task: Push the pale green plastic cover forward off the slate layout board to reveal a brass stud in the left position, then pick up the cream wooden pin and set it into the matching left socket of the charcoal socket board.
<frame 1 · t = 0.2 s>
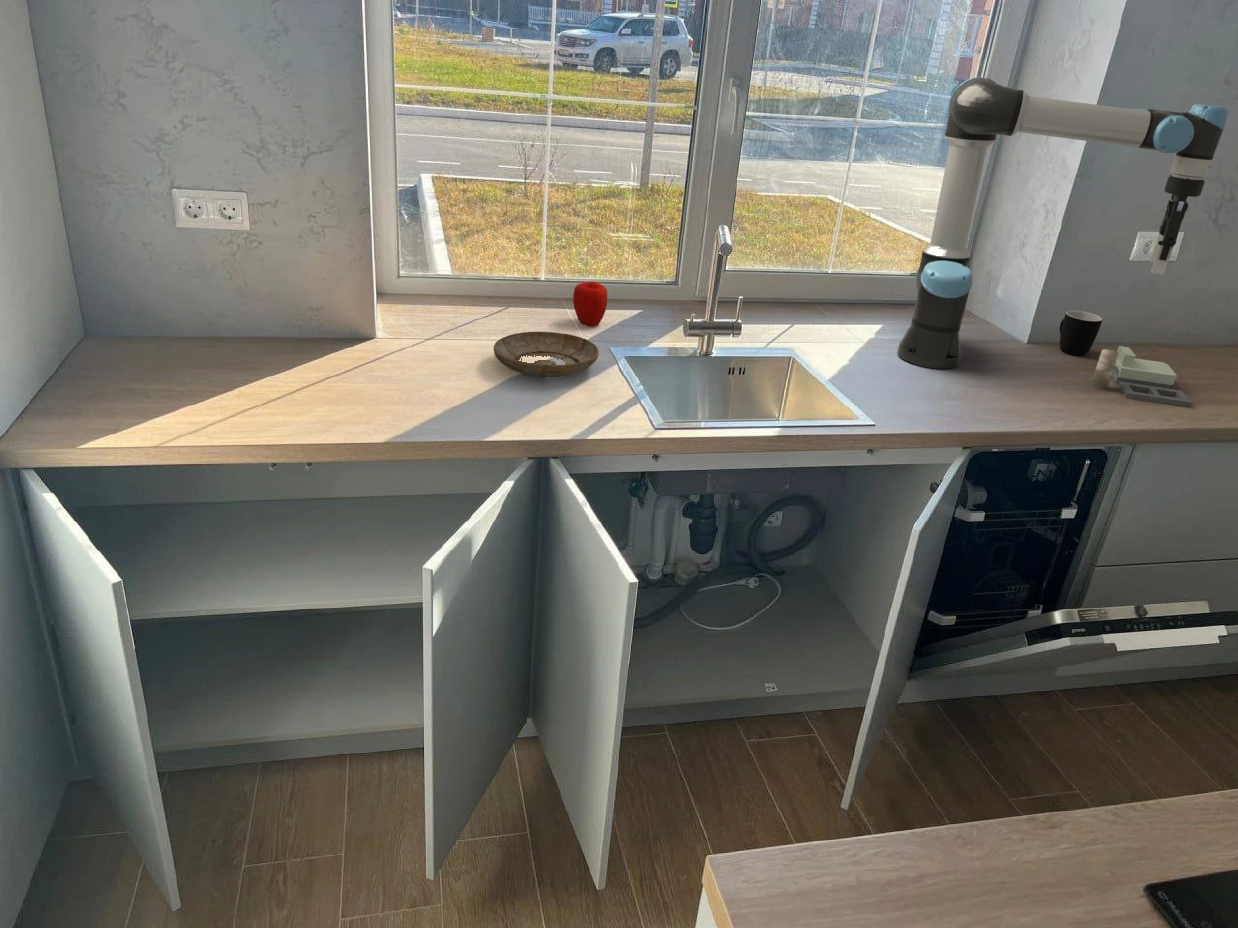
hand: (1156, 268, 220), 27 cm above the worktop, fingers open, 13 cm apart
socket board: (1153, 396, 218), on the worktop
layout board: (1137, 380, 228), on the worktop
mug: (1069, 351, 246), on the worktop
brown round shallow bowl: (545, 368, 205), on the worktop
pin: (1098, 387, 221), on the worktop
cover: (1144, 364, 226), point 4 cm above the worktop, slide at 0.0 cm
apple: (588, 325, 235), on the worktop
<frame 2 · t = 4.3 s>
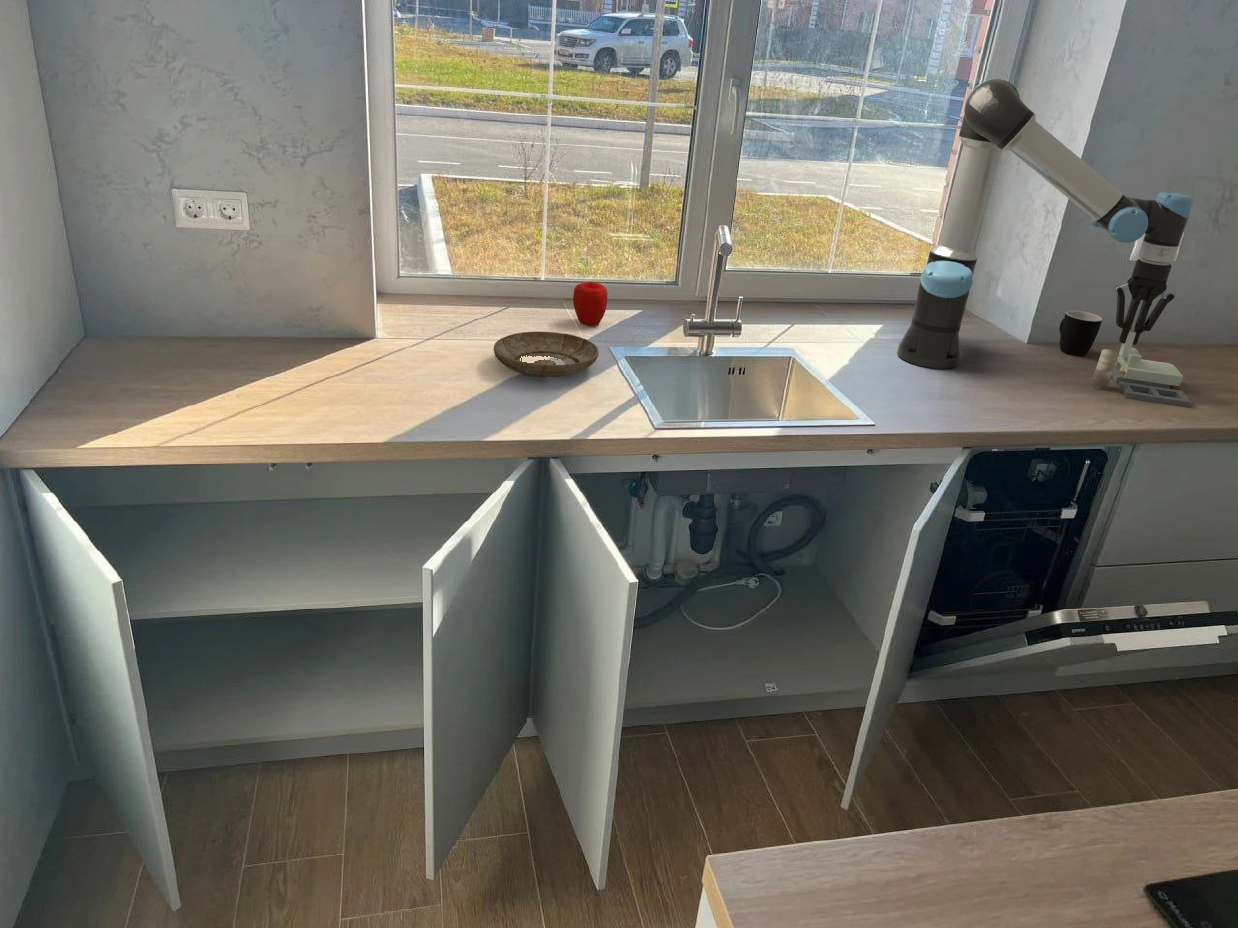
hand: (1123, 355, 226), 6 cm above the worktop, fingers closed
cover: (1150, 365, 225), point 4 cm above the worktop, slide at 1.4 cm, touching gripper
everything else where it was.
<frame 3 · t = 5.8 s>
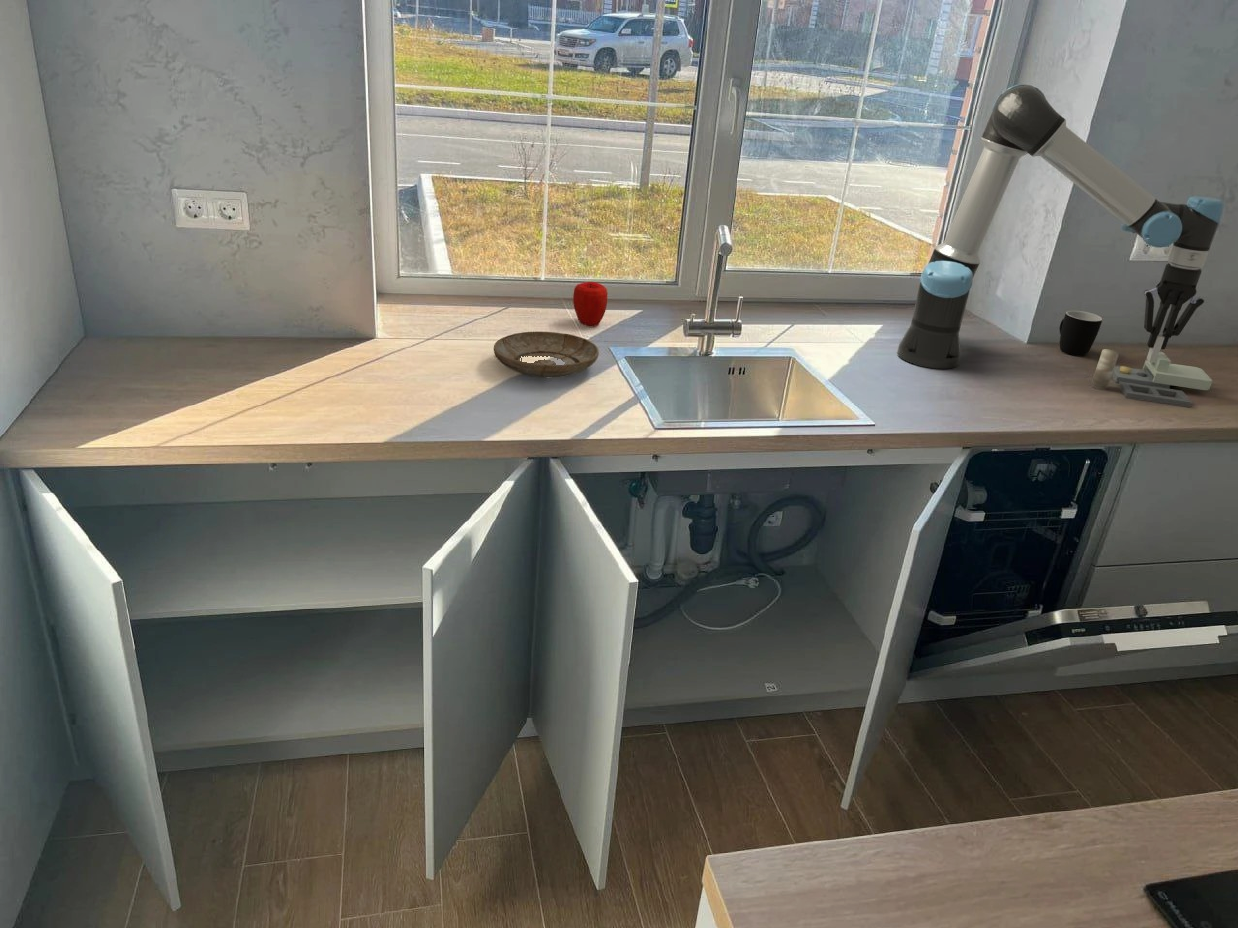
hand: (1151, 360, 225), 5 cm above the worktop, fingers closed
cover: (1179, 369, 224), point 4 cm above the worktop, slide at 7.9 cm, touching gripper
everything else where it was.
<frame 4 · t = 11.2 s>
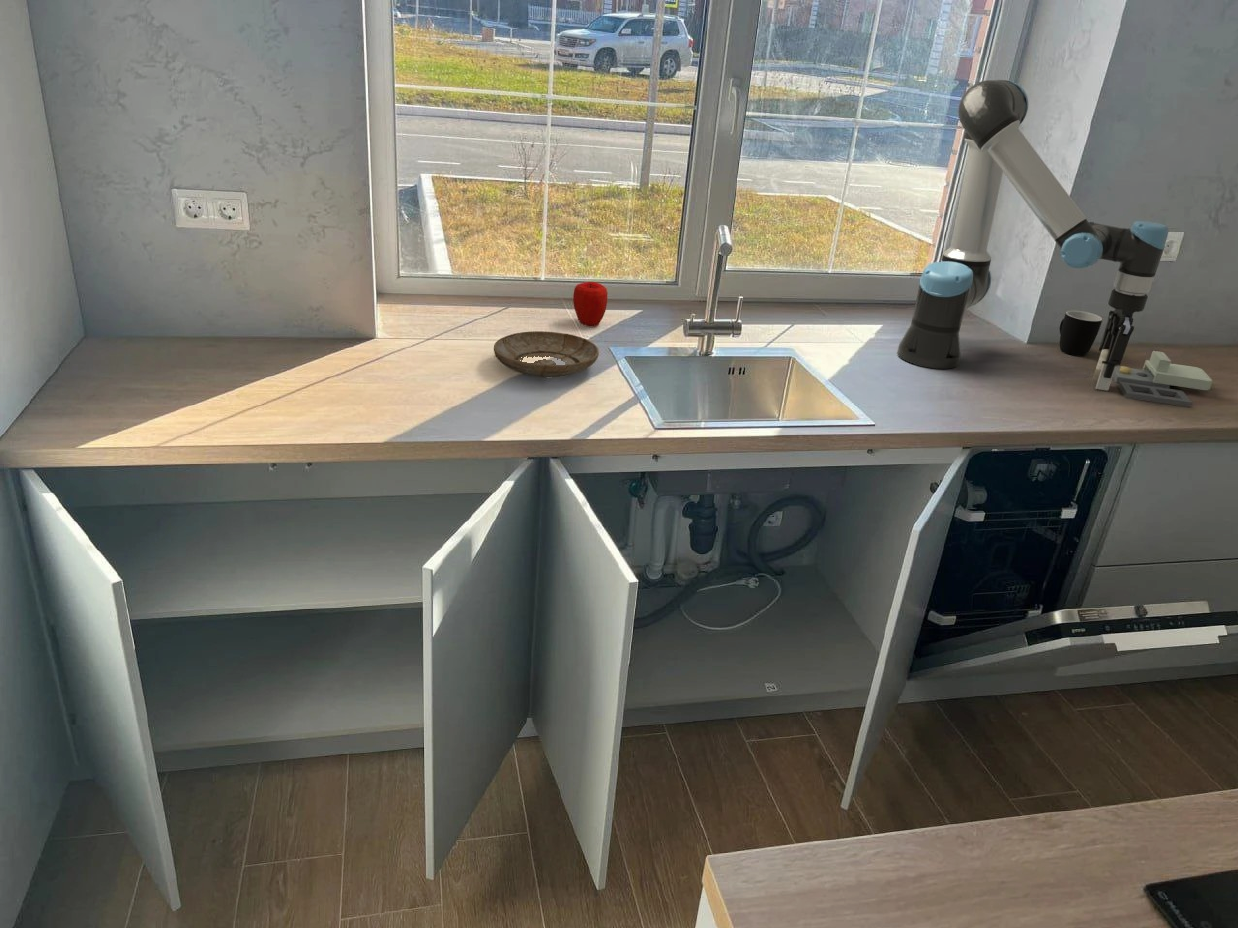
hand: (1100, 386, 221), 0 cm above the worktop, fingers closed on pin, 4 cm apart
pin: (1098, 387, 221), on the worktop, touching gripper
cover: (1179, 369, 224), point 4 cm above the worktop, slide at 7.9 cm
everything else where it was.
when the fingers open (2 cm above the worktop, at t = 16.7 s): pin stays where it is, resting in socket board.
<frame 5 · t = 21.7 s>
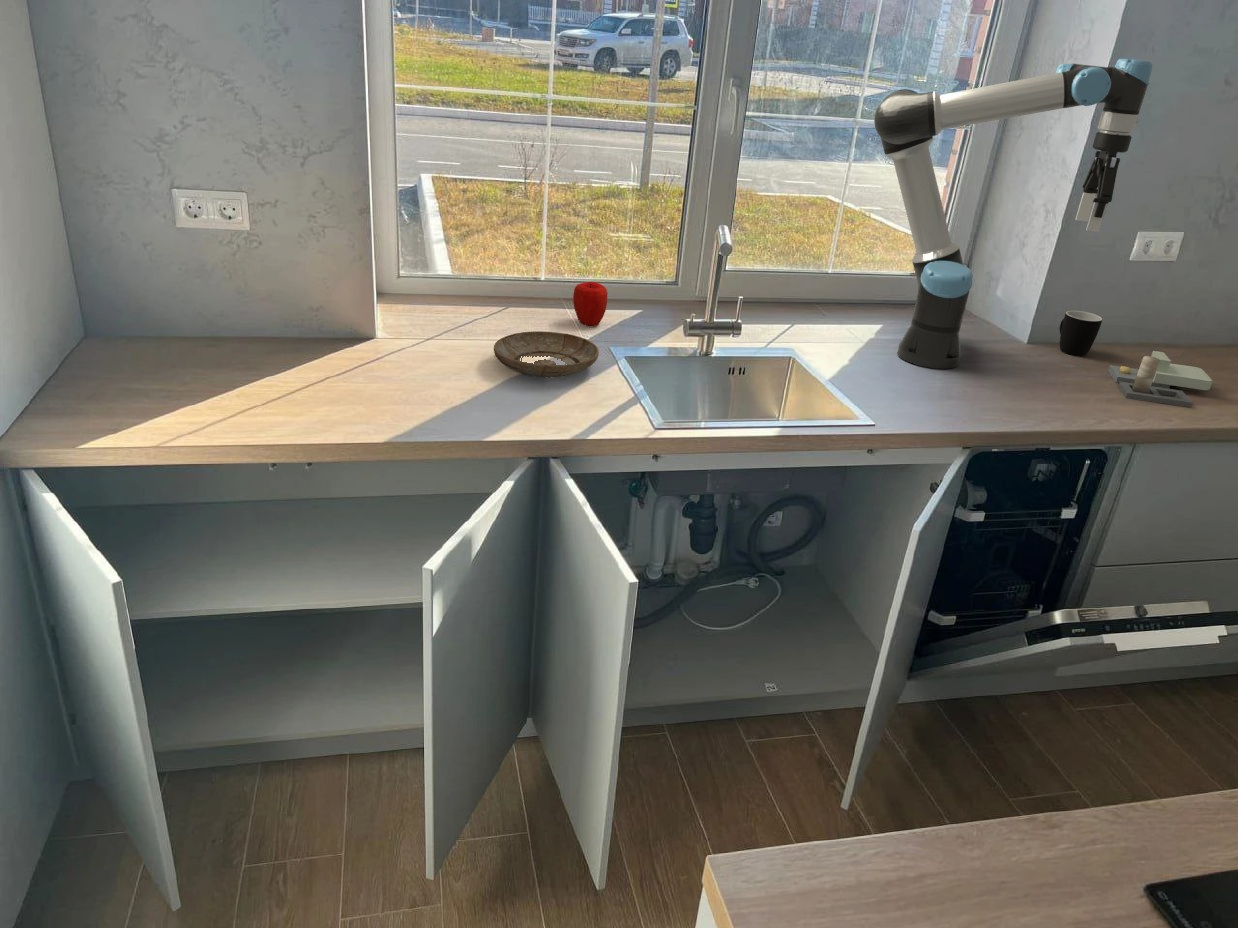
hand: (1086, 226, 220), 35 cm above the worktop, fingers open, 13 cm apart
pin: (1138, 394, 218), resting in socket board
everything else where it was.
at the end: cover slide at 7.9 cm; pin 0.2 cm from the target spot on the socket board, point 0.0 cm above the socket board's base; pin tilted 1° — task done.
